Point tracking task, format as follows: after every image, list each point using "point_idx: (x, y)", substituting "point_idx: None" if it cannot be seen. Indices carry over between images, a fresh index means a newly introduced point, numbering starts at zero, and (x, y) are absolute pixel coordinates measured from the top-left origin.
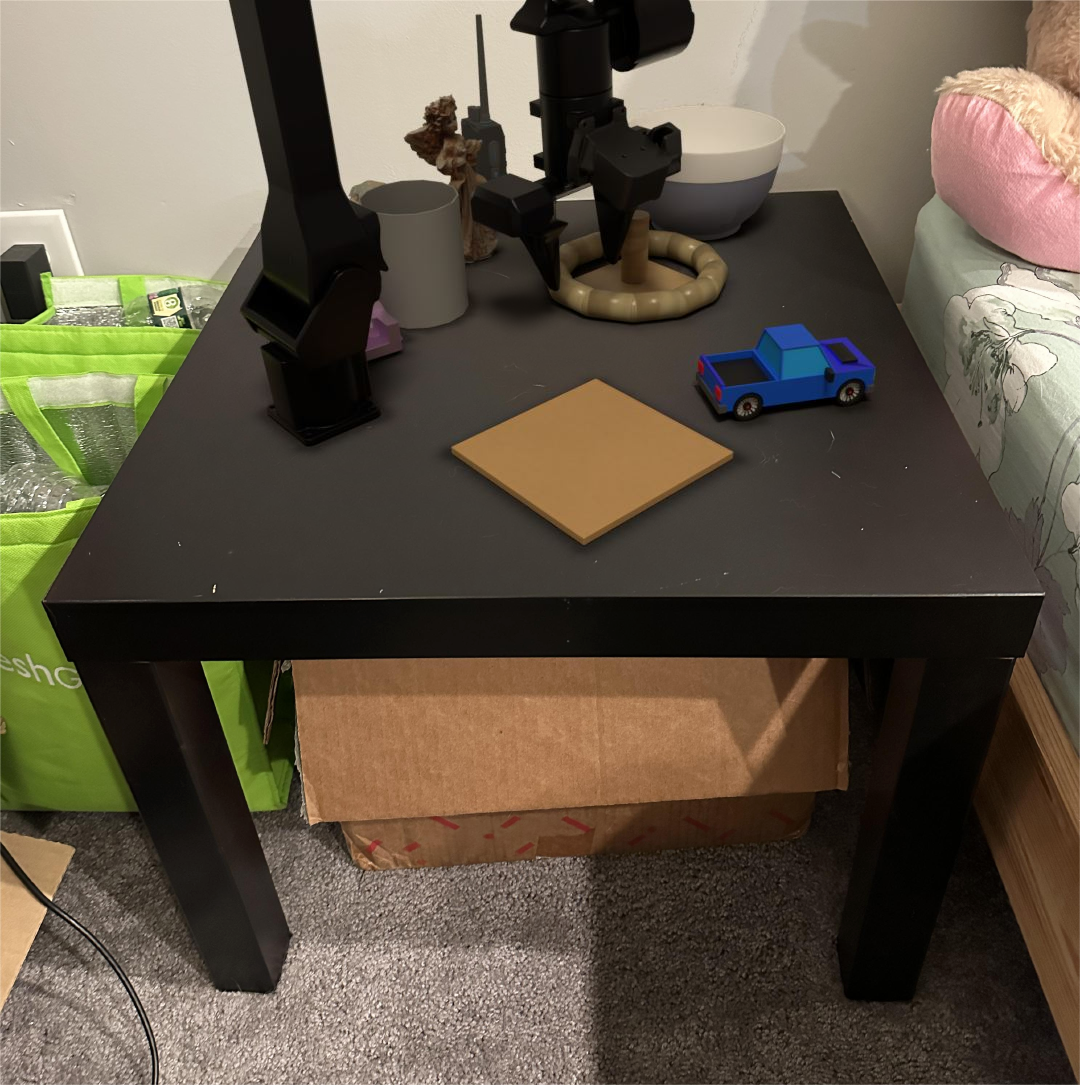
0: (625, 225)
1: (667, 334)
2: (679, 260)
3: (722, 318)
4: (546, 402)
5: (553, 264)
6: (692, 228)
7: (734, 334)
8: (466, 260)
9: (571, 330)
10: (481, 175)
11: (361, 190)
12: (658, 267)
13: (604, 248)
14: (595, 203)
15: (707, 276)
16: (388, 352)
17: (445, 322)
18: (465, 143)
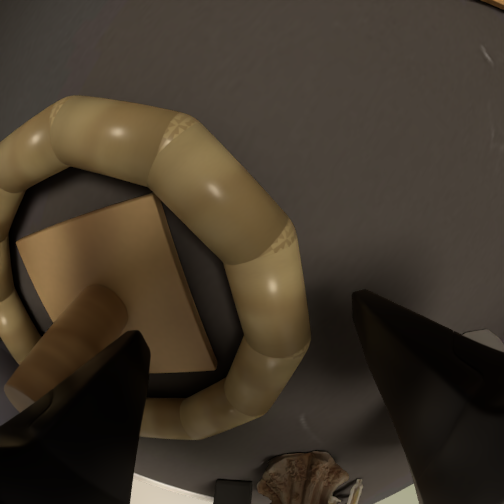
0: (58, 397)
1: (150, 53)
2: (27, 315)
3: (33, 88)
4: (499, 1)
5: (431, 327)
6: (4, 359)
7: (54, 23)
8: (321, 454)
9: (342, 189)
10: None
11: None
12: (56, 316)
13: (144, 382)
14: (129, 499)
15: None
16: None
17: (470, 333)
18: None
